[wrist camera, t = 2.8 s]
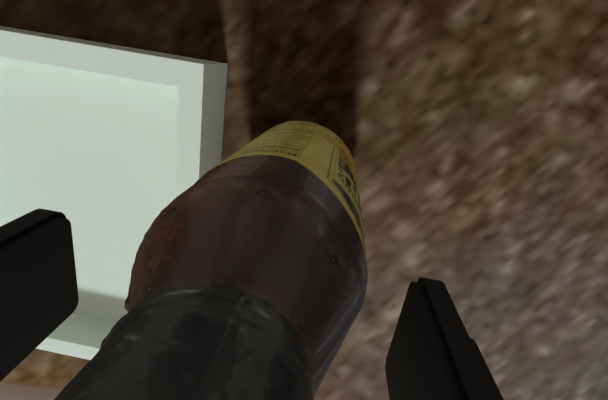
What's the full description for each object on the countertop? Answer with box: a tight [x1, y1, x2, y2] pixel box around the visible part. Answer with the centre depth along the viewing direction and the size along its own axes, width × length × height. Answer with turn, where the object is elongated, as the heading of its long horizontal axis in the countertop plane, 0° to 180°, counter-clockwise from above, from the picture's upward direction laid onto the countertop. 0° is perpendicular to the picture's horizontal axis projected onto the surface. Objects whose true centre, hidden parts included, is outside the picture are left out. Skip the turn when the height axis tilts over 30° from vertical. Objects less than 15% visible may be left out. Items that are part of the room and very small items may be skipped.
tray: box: [0, 26, 227, 360], centre depth 22 cm, size 16×20×4 cm
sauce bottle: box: [54, 121, 367, 400], centre depth 12 cm, size 6×6×20 cm
